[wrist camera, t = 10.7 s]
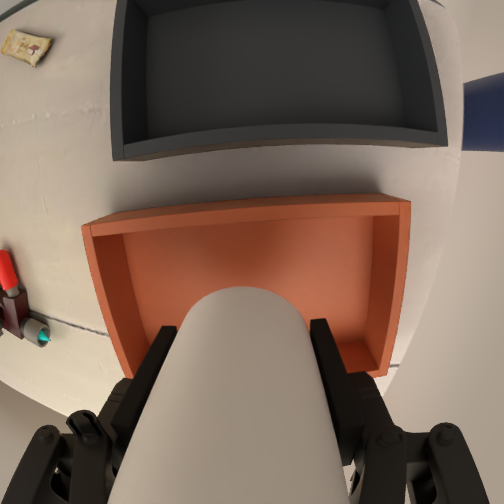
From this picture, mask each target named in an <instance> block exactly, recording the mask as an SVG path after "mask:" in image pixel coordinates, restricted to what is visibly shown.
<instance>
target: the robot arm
mask: <svg viewBox="0 0 504 504" xmlns="http://www.w3.org/2000/svg"><path fill="white" fill-rule="evenodd" d="M177 333H178V331H177V327H176V326H162V327H161V328H160V330H159V332H158V334H157V336H156V337H155V339H154V341H153V343H152V345H151V346H150V348H149V350H148V352H147V354H146V355H145V357H144V359H143V361H142V363H141V365H140V366H139V368H138V370H137V372H136V374H135V376H134V378H133V379H130V378H123V379H122V380H121V381H119V382H118V383H117V384H116V385H115V387H114V388H113V390H112V392H111V394H110V395H109V397H108V399H107V401H106V402H105V404H104V406H103V408H102V410H101V411H100V413H99V415H98V417H96V415H95V414H94V413H93V412H91V411H89V410H79V411H76V412H74V413H72V414H71V415H70V416H69V417H68V419H67V421H66V424H67V425H68V426H69V428H70V429H71V431H72V432H73V433H74V434H62V433H60V431H59V430H58V429H57V428H56V427H55V426H53V425H45V426H42V427H40V428H39V429H38V430H37V431H36V432H35V434H34V436H33V438H32V440H31V441H30V443H29V445H28V447H27V449H26V451H25V453H24V455H23V457H22V459H21V461H20V463H19V465H18V467H17V469H16V471H15V473H14V475H13V477H12V479H11V482H10V484H9V486H8V488H7V491H6V493H5V495H4V498H3V500H2V503H1V504H107V503H108V500H109V497H110V494H111V491H112V488H113V485H114V482H115V479H116V477H117V474H118V471H119V469H120V466H121V463H122V461H123V458H124V456H125V453H126V451H127V448H128V446H129V443H130V441H131V438H132V436H133V433H134V431H135V428H136V426H137V423H138V421H139V419H140V416H141V414H142V412H143V409H144V407H145V404H146V402H147V400H148V397H149V395H150V393H151V390H152V388H153V386H154V384H155V381H156V379H157V377H158V375H159V372H160V370H161V368H162V366H163V363H164V361H165V359H166V357H167V355H168V352H169V350H170V348H171V346H172V344H173V342H174V339H175V337H176V335H177ZM310 338H311V342H312V345H313V349H314V353H315V356H316V360H317V364H318V367H319V371H320V375H321V379H322V383H323V386H324V390H325V394H326V398H327V402H328V406H329V410H330V414H331V419H332V423H333V427H334V431H335V435H336V440H337V444H338V448H339V453H340V457H341V462H342V466H347V465H351V463H352V460H353V459H354V463H355V466H356V468H355V471H354V473H353V475H352V477H351V480H350V481H352V484H351V489H350V493H349V501H350V504H404V503H405V490H406V484H407V488H408V493H409V497H410V502H411V504H489V500H488V498H487V495H486V492H485V489H484V486H483V483H482V480H481V478H480V475H479V472H478V470H477V467H476V465H475V462H474V460H473V457H472V455H471V453H470V451H469V448H468V446H467V443H466V441H465V439H464V437H463V434H462V432H461V431H460V429H459V428H458V427H457V426H456V425H454V424H452V423H447V422H445V423H440V424H438V425H436V426H434V427H433V428H432V429H431V430H430V432H425V433H410V432H405V431H403V430H402V428H400V427H398V426H396V425H394V423H393V421H392V419H391V417H390V414H389V412H388V410H387V408H386V405H385V403H384V401H383V399H382V396H380V392H379V390H378V389H377V386H376V383H375V381H374V379H373V377H371V376H370V375H369V374H368V373H367V372H366V371H359V372H353V373H347V371H346V368H345V365H344V363H343V360H342V358H341V355H340V352H339V350H338V347H337V345H336V342H335V340H334V337H333V335H332V332H331V330H330V327H329V325H328V322H327V320H326V318H321V319H310ZM56 467H57V468H58V470H57V472H55V469H56Z"/></svg>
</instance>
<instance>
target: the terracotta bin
mask: <svg viewBox="0 0 504 504" xmlns="http://www.w3.org/2000/svg"><path fill="white" fill-rule="evenodd" d="M410 218H411V201H408V200H404V199H401V198H397V197H393V196H389V195H386V194H382V193H364V194H324V195H300V196H281V197H265V198H250V199H237V200H225V201H214V202H203V203H193V204H184V205H174V206H166V207H157V208H149V209H141V210H134V211H126V212H119V213H112V214H110V215H107V216H105V217H102V218H99V219H97V220H94V221H92V222H89V223H87V224H84V225H82V226H81V230H82V235H83V240H84V245H85V250H86V255H87V259H88V263H89V268H90V272H91V276H92V280H93V283H94V287H95V291H96V294H97V298H98V301H99V305H100V308H101V311H102V314H103V318H104V321H105V324H106V327H107V330H108V333H109V336H110V338H111V341H112V344H113V347H114V349H115V352H116V355H117V357H118V360H119V362H120V365H121V367H122V370H123V372H124V374H125V377H126V378H130V379H133V378H134V376H135V374H136V372H137V370H138V368H139V366H140V365H141V363H142V361H143V359H144V357H145V355H146V354H147V352H148V350H149V348H150V346H151V345H152V343H153V341H154V339H155V337H156V336H157V334H158V332H159V330H160V328H161V327H162V326H176V327H177V331H179V329H180V327H181V325H182V323H183V321H184V319H185V317H186V315H187V314H188V312H189V311H190V309H191V308H192V307H193V306H194V305H195V304H196V303H197V302H198V301H199V300H201V299H202V298H203V297H205V296H207V295H209V294H211V293H213V292H215V291H218V290H221V289H225V288H230V287H255V288H260V289H264V290H267V291H270V292H273V293H275V294H277V295H279V296H281V297H283V298H284V299H286V300H287V301H288V302H290V303H291V304H292V305H293V306H294V307H295V308H296V309H297V310H298V311H299V313H300V314H301V316H302V317H303V319H304V321H305V323H306V326H307V329H308V332H309V335H310V319H321V318H326V320H327V322H328V325H329V327H330V330H331V332H332V335H333V337H334V340H335V342H336V345H337V347H338V350H339V352H340V355H341V358H342V360H343V363H344V365H345V368H346V371H347V373H353V372H359V371H366V372H367V373H368V374H369V375H370V376H371V377H373V378H376V377H381V376H386V375H387V372H388V368H389V364H390V360H391V356H392V352H393V348H394V343H395V338H396V334H397V329H398V324H399V318H400V313H401V307H402V300H403V294H404V287H405V279H406V271H407V261H408V250H409V237H410Z"/></svg>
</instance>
